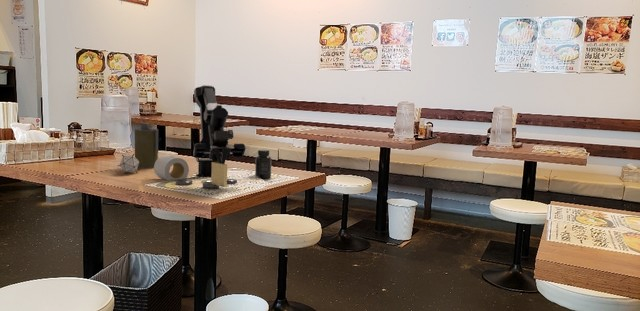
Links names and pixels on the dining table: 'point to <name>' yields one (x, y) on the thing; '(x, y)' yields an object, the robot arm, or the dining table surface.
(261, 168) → the supplement bottle
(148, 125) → the canister
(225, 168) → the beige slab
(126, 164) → the game die
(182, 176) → the toilet paper
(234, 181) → the tribrach plate
